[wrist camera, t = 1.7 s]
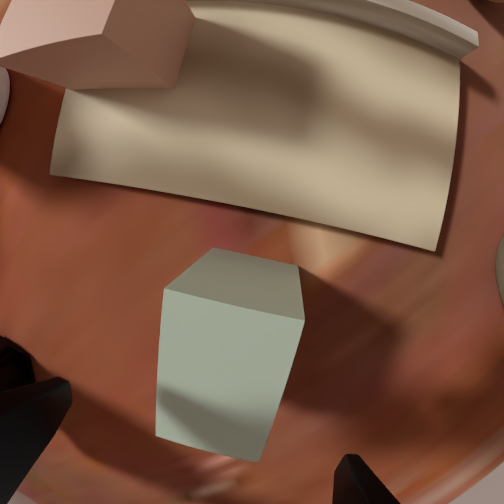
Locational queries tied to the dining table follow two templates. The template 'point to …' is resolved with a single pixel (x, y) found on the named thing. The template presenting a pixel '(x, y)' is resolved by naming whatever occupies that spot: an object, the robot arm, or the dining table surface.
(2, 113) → the pill bottle
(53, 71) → the carton
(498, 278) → the bowl
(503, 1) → the egg
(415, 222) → the shelf
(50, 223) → the dining table surface
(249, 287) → the pale green block
